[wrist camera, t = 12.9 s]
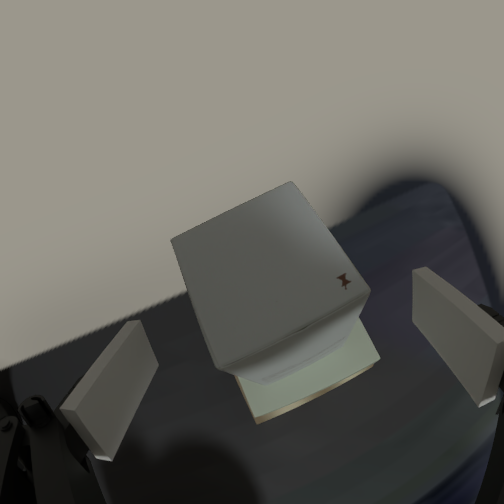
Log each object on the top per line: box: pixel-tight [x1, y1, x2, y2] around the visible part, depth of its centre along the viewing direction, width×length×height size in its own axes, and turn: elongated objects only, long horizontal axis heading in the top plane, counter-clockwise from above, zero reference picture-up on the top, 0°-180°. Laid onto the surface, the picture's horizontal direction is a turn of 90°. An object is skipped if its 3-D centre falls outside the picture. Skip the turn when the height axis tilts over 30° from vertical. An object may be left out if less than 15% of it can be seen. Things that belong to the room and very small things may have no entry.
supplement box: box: [171, 181, 371, 386], centre depth 19 cm, size 7×7×13 cm
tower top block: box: [238, 317, 381, 417], centre depth 26 cm, size 11×11×4 cm
